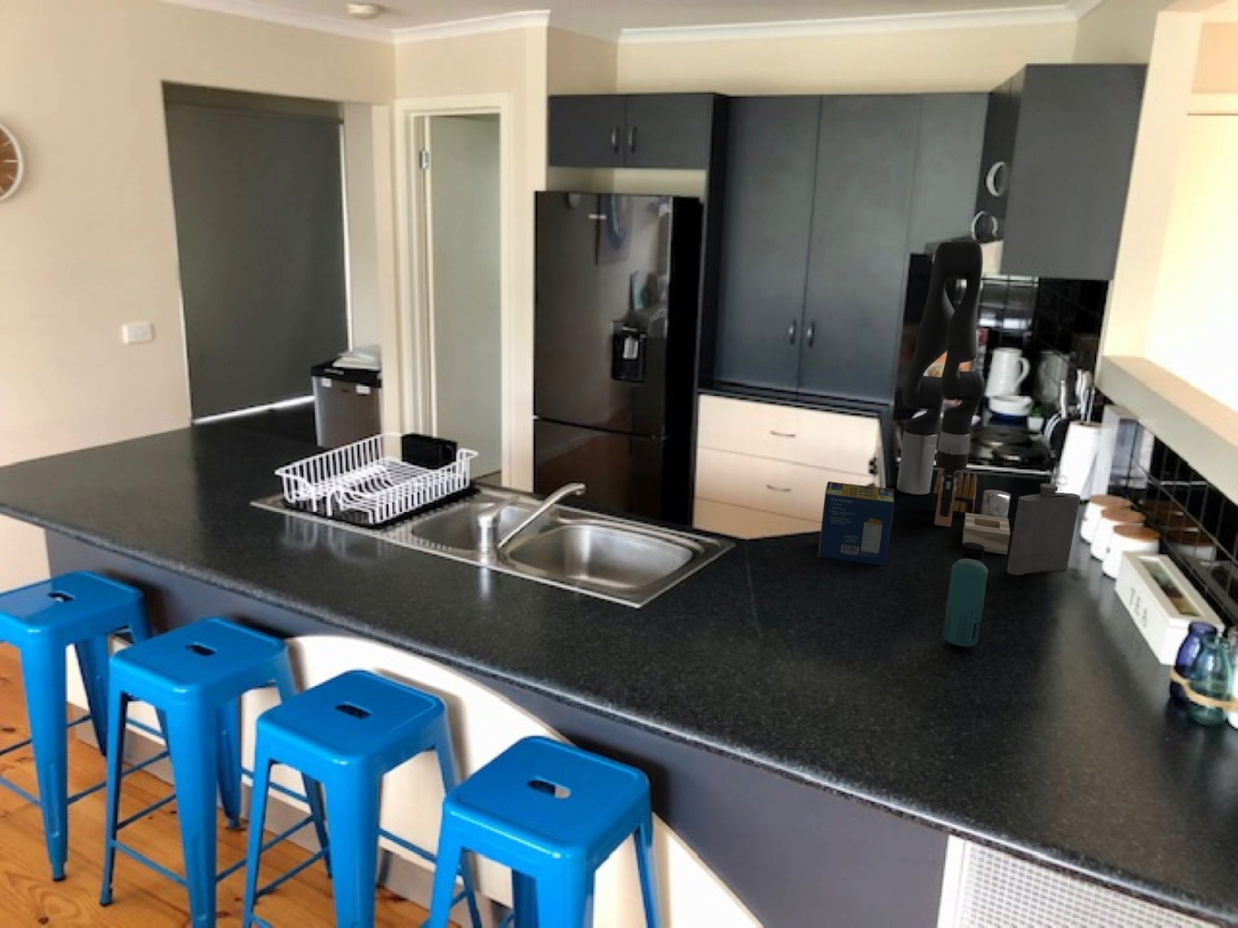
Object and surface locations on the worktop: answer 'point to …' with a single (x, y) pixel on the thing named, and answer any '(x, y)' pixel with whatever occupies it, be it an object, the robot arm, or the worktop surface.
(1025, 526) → the hip flask
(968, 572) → the beverage bottle
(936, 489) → the ammunition clip
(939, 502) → the square peg
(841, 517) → the protein box
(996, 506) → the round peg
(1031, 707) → the worktop surface
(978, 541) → the socket block
